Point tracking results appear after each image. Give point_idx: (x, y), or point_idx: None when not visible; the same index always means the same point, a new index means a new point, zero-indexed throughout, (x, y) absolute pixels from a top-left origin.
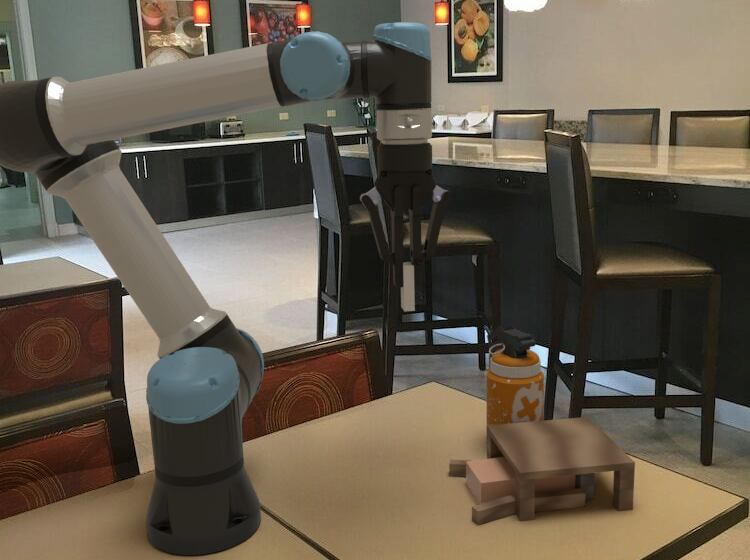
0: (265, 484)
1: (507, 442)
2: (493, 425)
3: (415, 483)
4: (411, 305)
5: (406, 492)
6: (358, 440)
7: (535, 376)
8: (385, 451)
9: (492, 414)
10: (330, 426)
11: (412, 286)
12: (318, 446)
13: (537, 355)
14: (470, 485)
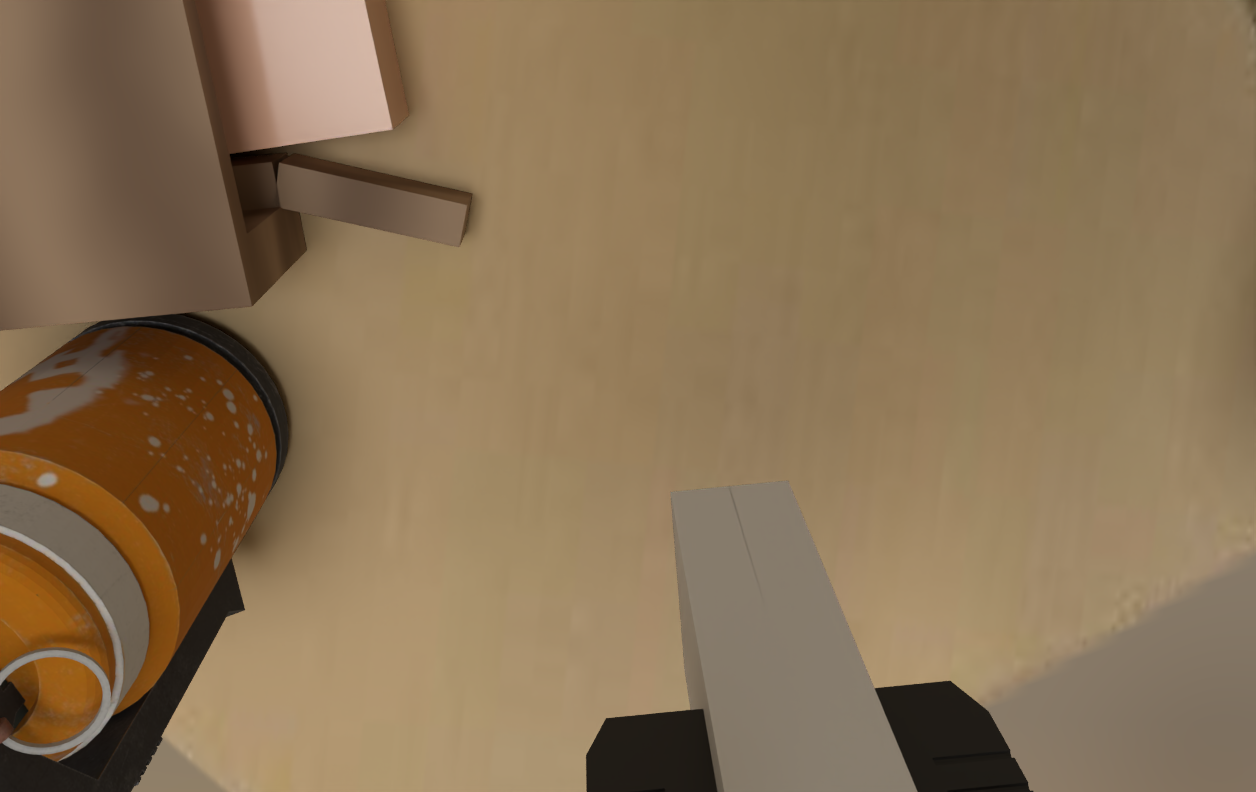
0: (1223, 199)
1: (158, 86)
2: (218, 303)
3: (621, 143)
4: (714, 519)
5: (666, 67)
6: None
7: None
8: (714, 438)
9: (216, 442)
10: (909, 669)
11: (729, 659)
12: (976, 504)
13: None
14: (391, 51)
